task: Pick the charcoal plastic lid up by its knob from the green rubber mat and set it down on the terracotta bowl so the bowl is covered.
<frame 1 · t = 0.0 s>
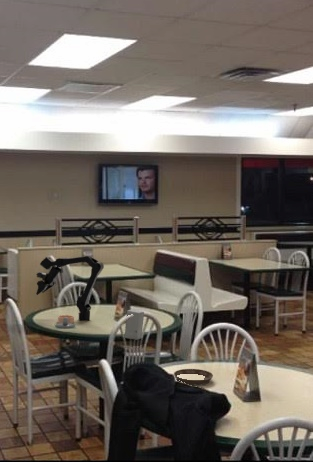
hand: (39, 293, 407), 15 cm above the table, tool tilted 35°, fingers open, 9 cm apart
skincare box: (133, 338, 359), on the table
mat: (65, 327, 379), on the table
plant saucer: (193, 381, 282), on the table
bowl: (65, 322, 391), on the table
lid: (65, 326, 379), resting on mat
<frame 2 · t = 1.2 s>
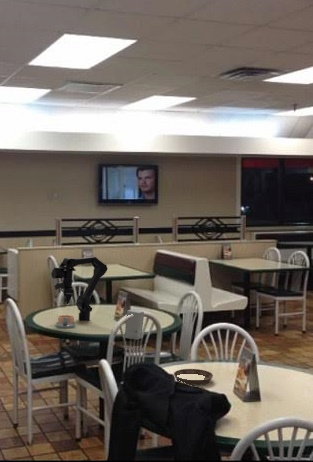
hand: (66, 302, 391), 12 cm above the table, tool pointing down, fingers open, 9 cm apart
nothing on the table moved.
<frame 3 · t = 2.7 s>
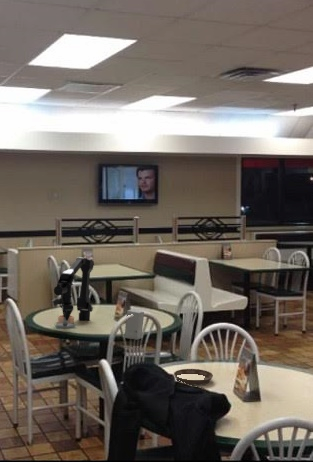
hand: (65, 318, 379), 5 cm above the table, tool pointing down, fingers open, 9 cm apart
nothing on the table moved.
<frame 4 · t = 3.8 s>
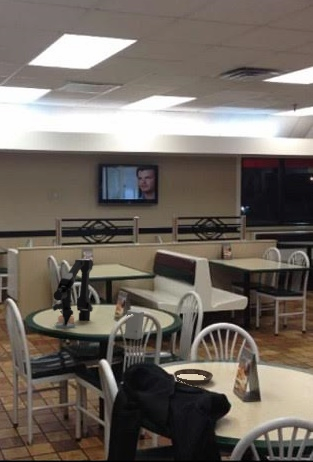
hand: (65, 323, 379), 2 cm above the table, tool pointing down, fingers closed on lid, 3 cm apart
lid: (65, 326, 379), point 1 cm above the table, touching gripper, mat
everything else where it was.
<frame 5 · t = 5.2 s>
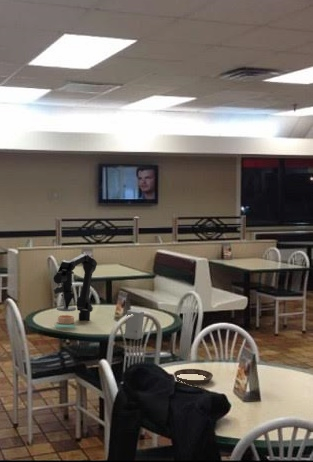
hand: (66, 307, 382), 12 cm above the table, tool pointing down, fingers closed on lid, 3 cm apart
lid: (66, 309, 382), point 10 cm above the table, touching gripper
everything else where it was.
when the fingers open (6 cm above the table, at t = 6.9 s): lid drops 1 cm, resting on bowl.
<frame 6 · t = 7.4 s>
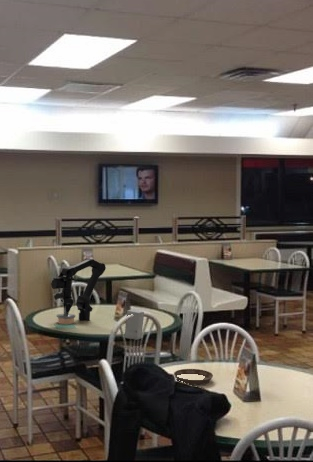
hand: (66, 312, 390), 6 cm above the table, tool pointing down, fingers open, 8 cm apart
lid: (65, 316, 391), point 4 cm above the table, touching bowl
everything else where it was.
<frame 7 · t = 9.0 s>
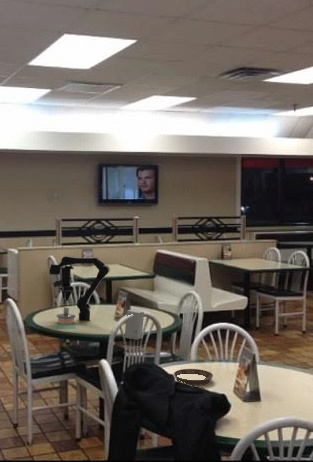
hand: (65, 299, 401), 13 cm above the table, tool pointing down, fingers open, 9 cm apart
nothing on the table moved.
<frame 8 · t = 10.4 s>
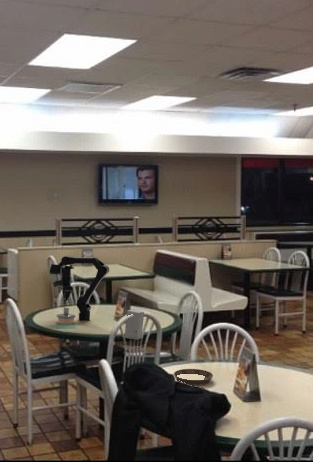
hand: (65, 299, 403), 12 cm above the table, tool pointing down, fingers open, 9 cm apart
nothing on the table moved.
at the end: lid 0.0 cm off-centre on the bowl, point 4.0 cm above the bowl's base; lid tilted 0°; the gripper is holding nothing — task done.
